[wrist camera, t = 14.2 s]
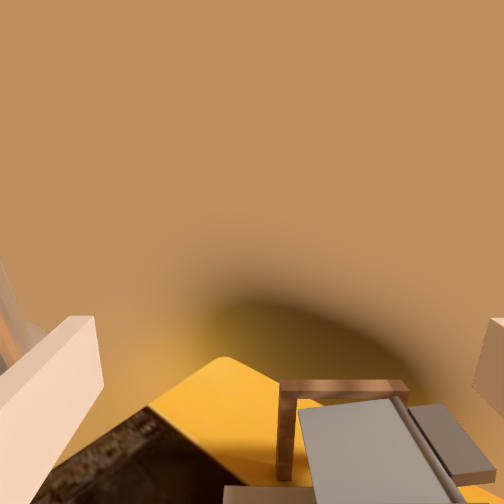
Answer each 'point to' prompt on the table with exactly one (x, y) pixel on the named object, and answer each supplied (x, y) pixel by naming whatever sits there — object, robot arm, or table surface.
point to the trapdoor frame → (323, 390)
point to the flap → (390, 454)
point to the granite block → (268, 495)
